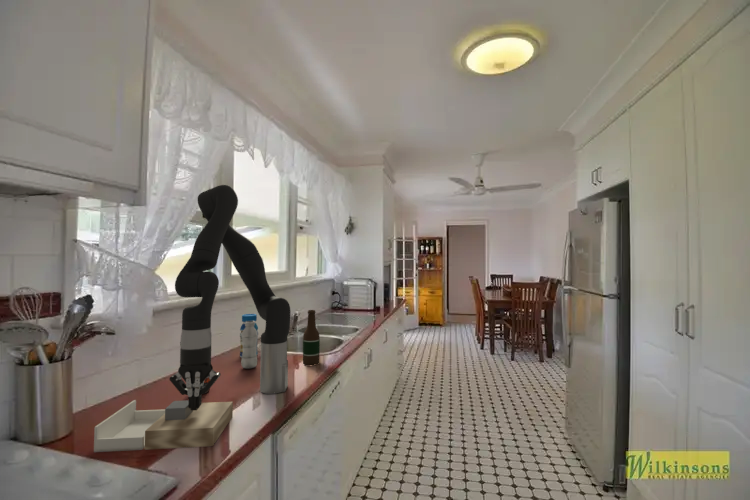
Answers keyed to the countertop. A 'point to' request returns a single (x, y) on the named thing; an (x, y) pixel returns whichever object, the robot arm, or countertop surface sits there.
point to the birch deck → (190, 428)
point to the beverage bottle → (245, 318)
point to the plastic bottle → (249, 346)
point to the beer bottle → (311, 341)
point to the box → (125, 429)
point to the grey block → (177, 410)
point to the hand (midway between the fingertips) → (194, 409)
